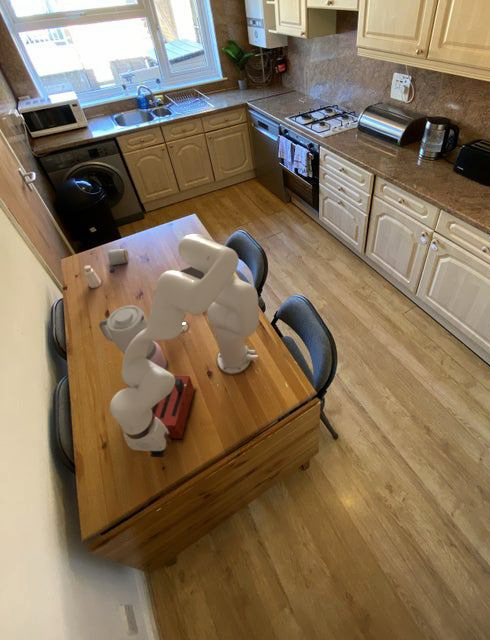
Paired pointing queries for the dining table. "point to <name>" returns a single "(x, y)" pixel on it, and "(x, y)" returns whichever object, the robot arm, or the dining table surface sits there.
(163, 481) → the dining table surface
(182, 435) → the toaster
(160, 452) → the bread lever
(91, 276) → the pepper shaker
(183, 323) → the wineglass
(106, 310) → the dining table surface
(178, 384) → the browning slider
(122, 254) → the ceramic mug
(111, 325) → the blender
